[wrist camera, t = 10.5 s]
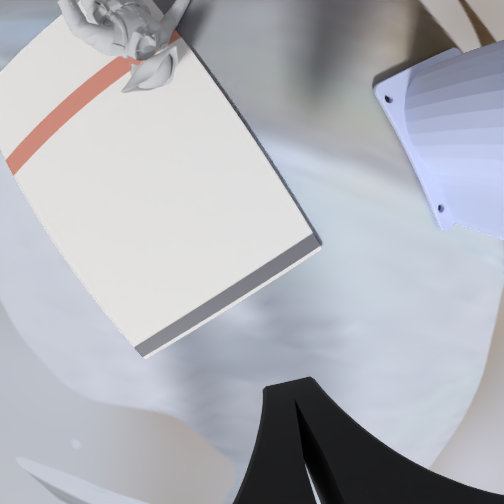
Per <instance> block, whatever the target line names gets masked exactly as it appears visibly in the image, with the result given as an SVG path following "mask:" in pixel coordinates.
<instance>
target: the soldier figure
mask: <svg viewBox="0 0 504 504" xmlns="http://www.w3.org/2000/svg"><path fill="white" fill-rule="evenodd" d="M57 2H58V4H59V6H60V8H61V11H62V13H63V16H64V19H65V21H66V23H67V25H68V27H69V29H70V31H71V32H72V34H73V35H74V36H75V37H77V38H79V39H82V40H83V41H84V42H85V43H86V44H88V45H91V46H92V48H94V49H97V51H99V52H101V53H102V54H105V55H110V56H122V57H123V58H128V57H132V58H134V59H136V60H139V61H142V60H145V61H144V62H142V63H141V64H139V65H135V64H131V65H132V69H131V70H130V73H131V78H130V80H129V81H128V83H127V84H126V86H125V87H124V88H123V89H122V91H121V92H122V93H129V92H134V91H149V90H153V89H155V88H158V87H161V86H165V85H168V84H170V83H171V82H172V81H173V80H174V72H175V69H176V67H177V63H178V54H177V46H172V47H170V48H168V49H166V50H164V51H162V52H161V51H160V52H161V53H159V54H156V55H155V53H156V51H159V50H161V49H165V48H166V47H167V46H168V44H169V40H170V37H171V35H172V32H173V31H174V29H175V28H176V27H177V25H178V24H179V21H180V19H181V17H182V16H183V14H184V12H185V10H186V8H187V6H188V4H189V2H190V0H176V1H175V3H174V4H173V5H172V6H171V8H170V9H169V10H168V11H167V12H166V14H165V15H164V16H163V18H162V20H161V21H160V23H159V22H158V21H157V20H155V19H154V18H153V17H151V12H150V11H149V7H148V6H147V5H146V4H145V3H144V2H143V1H142V0H81V3H82V6H83V7H84V9H85V10H86V12H87V19H88V20H89V21H90V22H92V23H93V24H92V23H89V22H88V21H87V20H86V17H85V16H84V14H83V12H82V11H81V9H80V7H79V5H78V4H77V3H76V1H75V0H58V1H57ZM135 62H136V61H135ZM135 62H130V63H135ZM130 63H129V65H130ZM129 67H130V66H129Z"/></svg>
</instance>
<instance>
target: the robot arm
mask: <svg viewBox="0 0 504 504" xmlns="http://www.w3.org/2000/svg"><path fill="white" fill-rule="evenodd" d="M373 90H374V94H375V96H376V98H377V100H378V101H379V103H380V105H381V107H382V108H383V110H384V112H385V114H386V115H387V117H388V119H389V121H390V123H391V124H392V126H393V128H394V130H395V132H396V134H397V136H398V138H399V140H400V142H401V143H402V145H403V147H404V149H405V151H406V153H407V156H408V158H409V160H410V162H411V164H412V166H413V168H414V170H415V172H416V175H417V177H418V179H419V181H420V183H421V186H422V188H423V190H424V193H425V195H426V197H427V200H428V202H429V205H430V207H431V209H432V212H433V214H434V217H435V220H436V222H437V225H438V227H439V228H440V229H442V230H448V229H450V228H451V227H452V226H453V225H454V224H457V225H460V226H463V227H466V228H469V229H472V230H475V231H478V232H481V233H484V234H487V235H490V236H493V237H495V238H498V239H501V240H504V40H502V41H499V42H495V43H492V44H489V45H486V46H483V47H480V48H477V49H475V50H472V51H469V52H466V53H463V54H462V53H461V52H460V50H458V49H457V48H451V49H449V50H447V51H445V52H442V53H440V54H438V55H436V56H433V57H431V58H429V59H427V60H425V61H423V62H420V63H418V64H416V65H414V66H412V67H410V68H408V69H406V70H404V71H402V72H400V73H398V74H396V75H394V76H392V77H390V78H388V79H386V80H384V81H382V82H380V83H378V84H376V85H375V86H374V89H373ZM385 95H386V96H388V97H389V99H390V102H389V103H387V102H386V101H385ZM439 205H440V206H441V208H440V210H439V211H438V206H439ZM304 461H305V462H304ZM305 464H306V466H305ZM306 467H307V469H308V472H309V474H310V477H311V479H312V482H313V484H314V487H315V490H316V492H317V495H318V497H319V500H320V502H321V504H504V495H500V494H496V493H491V492H487V491H483V490H480V489H477V488H473V487H470V486H467V485H464V484H462V483H459V482H456V481H454V480H451V479H449V478H446V477H444V476H442V475H439V474H436V473H434V472H432V471H430V470H428V469H426V468H424V467H422V466H420V465H418V464H416V463H414V462H413V461H411V460H409V459H407V458H406V457H404V456H402V455H401V454H399V453H397V452H396V451H394V450H393V449H391V448H390V447H388V446H387V445H385V444H384V443H382V442H381V441H380V440H378V439H377V438H376V437H374V436H373V435H372V434H370V433H369V432H368V431H366V430H365V429H364V428H363V427H361V426H360V425H359V424H358V423H357V422H356V421H354V420H353V419H352V418H351V417H350V416H349V415H348V414H347V413H345V412H344V411H343V410H342V409H341V408H340V407H339V406H338V405H337V404H336V403H335V402H334V401H333V400H332V399H331V398H330V397H329V396H328V395H327V394H326V392H325V391H324V390H323V389H322V388H321V387H320V386H319V384H318V383H317V382H316V381H315V379H314V378H312V377H306V378H302V379H298V380H293V381H289V382H284V383H280V384H275V385H270V386H266V387H265V388H264V389H263V406H262V414H261V420H260V425H259V430H258V434H257V438H256V443H255V446H254V450H253V453H252V456H251V459H250V462H249V465H248V468H247V471H246V474H245V477H244V479H243V482H242V484H241V487H240V489H239V491H238V494H237V496H236V498H235V500H234V502H233V504H317V503H316V500H315V497H314V494H313V490H312V487H311V484H310V480H309V477H308V474H307V471H306Z"/></svg>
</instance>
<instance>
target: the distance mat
mask: <svg viewBox="0 0 504 504" xmlns="http://www.w3.org/2000/svg"><path fill="white" fill-rule="evenodd" d="M142 1H143V2H144V3H145V4H146V5H147V6H148V7H149V11H150V12H151V17H153V18H154V19H155V20H157V21H158V22H159V23H160V21H161V20H162V18H163V16H164V14H163V13H162V11H161V10H160V9H159V8H158V6H157V5H156V4H155V3H154V1H153V0H142ZM77 4H78V5H79V7H80V9H81V11H82V12H83V14H84V16H85V17H86V20H87V21H88V22H89V23H92V22H90V21H89V20H88V19H87V12H86V10H85V9H84V7H83V6H82V3H81V0H80V1H79V2H77ZM92 24H93V23H92ZM172 46H177V54H178V63H177V67H176V69H175V72H174V80H173V81H172V82H171V83H170V84H168V85H165V86H161V87H158V88H155V89H153V90H149V91H134V92H129V93H122V92H121V91H122V89H123V88H124V87H125V86H126V84H127V83H128V81H129V80H130V78H131V73H130V70H131V69H132V65H131V64H135V65H139V64H141V63H142V62H144V61H145V60H142V61H139V60H136V59H134V58H132V57H128V58H123V57H122V56H110V55H105V54H102V53H101V52H99V51H97V49H94V48H92V46H91V45H88V44H86V43H85V42H84V41H83V40H82V39H79V38H77V37H75V36H74V35H73V34H72V32H71V31H70V29H69V27H68V25H67V23H66V21H65V19H64V16H63V14H62V15H61V16H59V17H58V18H57V19H56V20H55V21H53V22H52V23H51V24H50V25H49V26H48V27H46V28H45V29H44V30H43V31H42V32H41V33H40V34H38V35H37V36H36V37H35V38H34V39H33V40H32V41H31V42H30V43H29V44H28V45H27V46H26V47H25V48H24V49H22V50H21V51H20V52H19V53H18V54H17V55H16V56H15V57H14V58H13V60H12V61H11V62H10V63H9V64H8V65H7V66H6V67H5V68H4V69H3V70H2V71H1V72H0V150H1V152H2V154H3V156H4V158H5V160H6V162H7V164H8V166H9V168H10V170H11V172H12V174H13V176H14V177H15V179H16V181H17V183H18V184H19V186H20V188H21V190H22V192H23V193H24V195H25V197H26V199H27V200H28V202H29V204H30V206H31V207H32V209H33V211H34V212H35V214H36V216H37V217H38V219H39V220H40V222H41V224H42V225H43V227H44V228H45V230H46V232H47V233H48V235H49V236H50V238H51V239H52V241H53V242H54V244H55V245H56V247H57V248H58V250H59V251H60V253H61V254H62V256H63V257H64V259H65V260H66V262H67V263H68V264H69V266H70V267H71V269H72V270H73V271H74V273H75V274H76V276H77V277H78V278H79V280H80V281H81V282H82V284H83V285H84V286H85V288H86V289H87V290H88V292H89V293H90V294H91V296H92V297H93V298H94V300H95V301H96V302H97V303H98V305H99V306H100V307H101V308H102V310H103V311H104V312H105V313H106V315H107V316H108V317H109V318H110V320H111V321H112V322H113V323H114V324H115V326H116V327H117V328H118V329H119V330H120V332H121V333H122V334H123V335H124V336H125V337H126V339H127V340H128V341H129V342H130V343H131V344H132V346H133V347H134V348H135V349H136V350H137V351H138V353H139V354H140V355H141V356H142V357H143V358H144V359H147V358H148V357H150V356H152V355H153V354H155V353H157V352H158V351H160V350H162V349H163V348H165V347H167V346H169V345H170V344H172V343H174V342H175V341H177V340H179V339H180V338H182V337H183V336H185V335H187V334H188V333H190V332H192V331H193V330H195V329H197V328H198V327H200V326H202V325H203V324H205V323H206V322H208V321H210V320H211V319H213V318H215V317H216V316H218V315H219V314H221V313H223V312H224V311H226V310H228V309H229V308H231V307H232V306H234V305H236V304H237V303H239V302H240V301H242V300H244V299H245V298H247V297H248V296H250V295H251V294H253V293H255V292H256V291H258V290H259V289H261V288H262V287H264V286H266V285H267V284H269V283H270V282H272V281H273V280H275V279H277V278H278V277H280V276H281V275H283V274H284V273H286V272H287V271H289V270H290V269H292V268H294V267H295V266H297V265H298V264H300V263H301V262H303V261H304V260H306V259H307V258H309V257H310V256H312V255H313V254H315V253H316V252H318V251H319V250H321V249H322V247H321V246H320V244H319V242H318V240H317V239H316V237H315V235H314V234H313V232H312V230H311V229H310V227H309V225H308V224H307V222H306V220H305V219H304V217H303V216H302V214H301V212H300V211H299V209H298V207H297V206H296V204H295V203H294V201H293V199H292V198H291V196H290V194H289V193H288V191H287V190H286V188H285V186H284V185H283V183H282V182H281V180H280V179H279V177H278V175H277V174H276V172H275V171H274V169H273V168H272V166H271V165H270V163H269V161H268V160H267V158H266V157H265V155H264V154H263V152H262V151H261V149H260V148H259V146H258V145H257V143H256V142H255V140H254V139H253V137H252V136H251V134H250V133H249V131H248V130H247V128H246V127H245V125H244V124H243V122H242V121H241V119H240V118H239V116H238V115H237V113H236V112H235V111H234V109H233V108H232V106H231V105H230V103H229V102H228V100H227V99H226V98H225V96H224V95H223V93H222V92H221V90H220V89H219V88H218V86H217V85H216V83H215V82H214V81H213V79H212V78H211V76H210V75H209V74H208V72H207V71H206V70H205V68H204V67H203V65H202V64H201V63H200V61H199V60H198V59H197V57H196V56H195V55H194V53H193V52H192V51H191V49H190V48H189V46H188V45H187V44H186V43H185V41H184V40H183V39H182V37H181V36H180V35H179V33H178V32H177V31H176V29H174V31H173V32H172V35H171V37H170V40H169V44H168V46H167V47H166V48H165V49H161V50H159V51H156V53H155V55H156V54H159V53H161V52H162V51H164V50H166V49H168V48H170V47H172ZM160 51H161V52H160ZM135 61H136V62H135ZM130 62H135V63H130ZM129 63H130V65H129ZM129 66H130V67H129Z"/></svg>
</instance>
